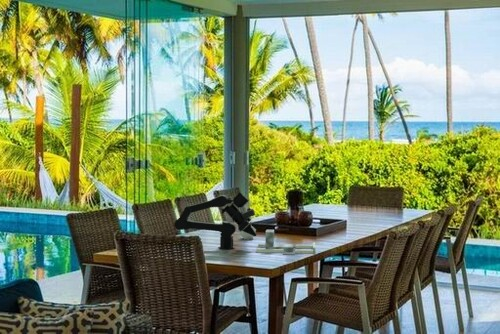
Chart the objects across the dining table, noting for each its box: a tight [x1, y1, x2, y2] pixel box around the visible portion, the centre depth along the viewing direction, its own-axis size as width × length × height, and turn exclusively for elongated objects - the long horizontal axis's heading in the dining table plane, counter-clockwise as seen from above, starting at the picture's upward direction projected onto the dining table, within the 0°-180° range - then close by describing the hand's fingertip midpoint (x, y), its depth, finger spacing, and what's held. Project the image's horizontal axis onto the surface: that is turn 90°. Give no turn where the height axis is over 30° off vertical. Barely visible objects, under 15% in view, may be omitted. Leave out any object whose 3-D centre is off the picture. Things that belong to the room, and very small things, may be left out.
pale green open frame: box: [255, 242, 316, 254], centre depth 454 cm, size 30×18×3 cm, turn 86°
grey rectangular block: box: [264, 229, 294, 252], centre depth 454 cm, size 14×10×10 cm
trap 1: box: [282, 251, 296, 256], centre depth 442 cm, size 6×6×1 cm
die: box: [238, 226, 257, 240], centre depth 493 cm, size 8×9×10 cm
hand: (256, 235), depth 455 cm, fingers closed
